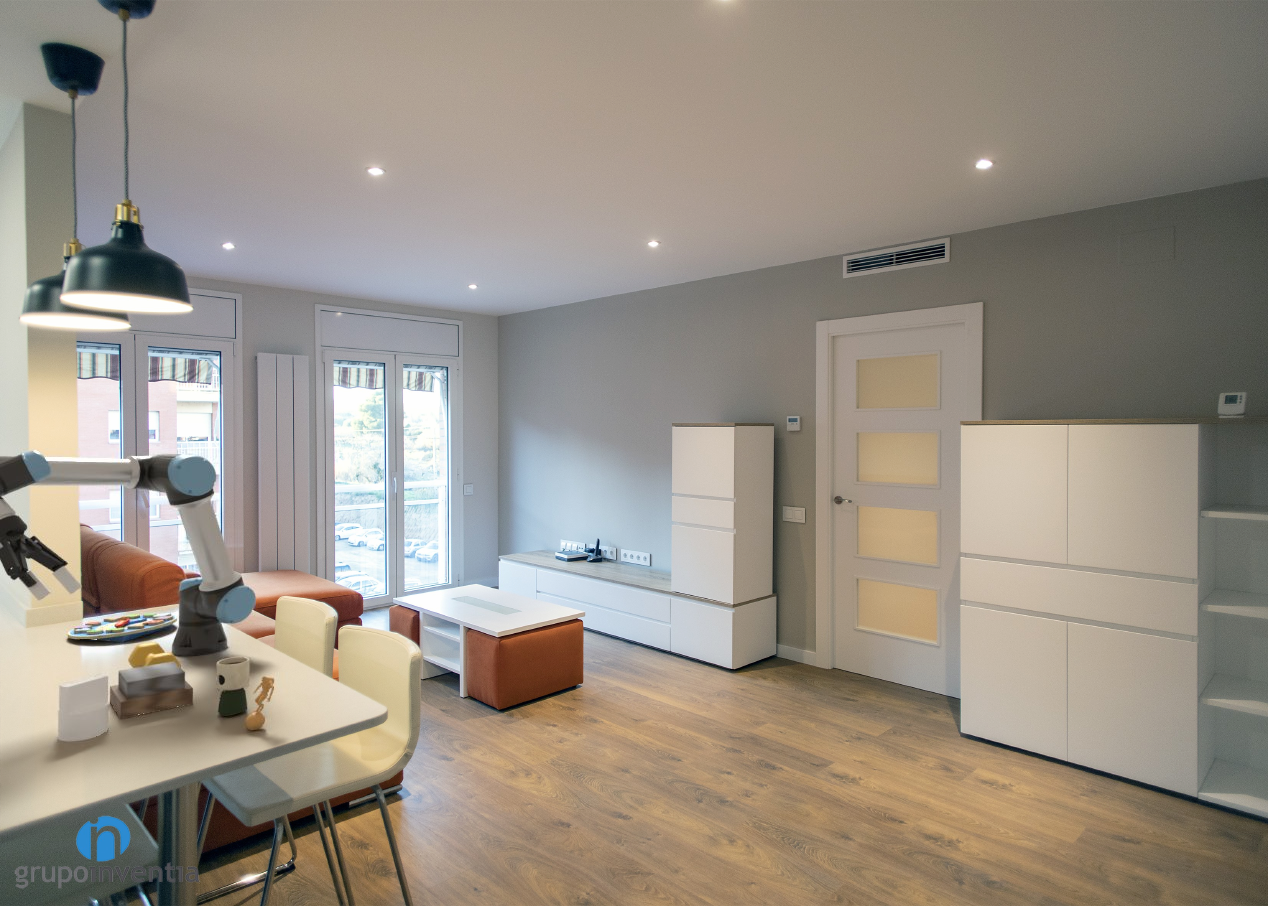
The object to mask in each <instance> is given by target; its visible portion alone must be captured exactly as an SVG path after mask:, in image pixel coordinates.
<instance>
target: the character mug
mask: <svg viewBox="0 0 1268 906" xmlns="http://www.w3.org/2000/svg"><path fill="white" fill-rule="evenodd" d="M250 659H251V658H250V657H247V656H233V657H232V656H231V657H227V658H223V659H220V660H218V661H217V662H216V675H215V676H216V677H215V678H216V680H215V682H216V684H215V685H216V689H217V690H220V691H221V693H220V696H219V702H218V708H217V713H218V716H221V717H229V716H233V715H234V716H236V714H240V713H243V712H246V711H247V710H248V702H247V701H248V700H247V694H246V693H247V692H246V690H245V688H246V687H248V686H249V685H250V663H251V662H250Z"/></svg>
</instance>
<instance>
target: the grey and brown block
mask: <svg viewBox="0 0 1268 906" xmlns="http://www.w3.org/2000/svg"><path fill="white" fill-rule="evenodd" d="M117 679H118V684H116V685H110V686H109V687H110V688H109V703H110V702H111V703H110V705H111V704H112V705H113V706H112V705H111V706H112V708H113V707H114V708H113V709H114V711H115V710H116V711H115V712H117V713H116V714H117V716H118V718H119V719H121V720H122V718H123V719H126V717H128V718H131V717H130V716H132V717H135V716H134V715H137V716H139V715H138V714H142V715H144V714H143V713H147V714H150V713H149V712H152V713H154V712H153V711H157V712H160V711H159V710H161V711H164V710H163V709H166V710H169V709H168V708H171V709H174V708H173V707H176V708H178V707H177V706H181V707H184V706H183V705H186V706H189V705H188V704H190V705H193V704H194V688H193V686H192V685H190V683H189V682H188V681H186V671H185V670H183V669H182V667H181V668H180V667H179V666H178V665H177V664H176V663H175V662H174V661H173V662H167V663H162V664H156V665H150V666H144V667H138V668H133V667H131V668H126V669H122V670H118V678H117Z"/></svg>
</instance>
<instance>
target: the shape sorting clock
mask: <svg viewBox="0 0 1268 906" xmlns="http://www.w3.org/2000/svg"><path fill="white" fill-rule="evenodd" d="M177 621H178V617H177V616H176V615H173V614H172V613H170V612H166V613H153V612H151V613H149V612H147V613H143V614H142V615H141V614H125V615H122V616H119V617H106V618H103V621H90V622H89V621H88V622H85V624H84V625H77V626H74V627H73V629H71V630H69V631H68V632H67V638H68V639H71V640H80V639H97V640H110V641H109V642H114V641H119V642H118V643H124V641H125V642H128V641H131V640H134V639H137V638H140V637H143V635H144V636H146V634H147V635H150V634H153V633H156V632H159V631H162V630H165V629H168V628H171V627H173V625H174V623H176V622H177ZM130 639H131V640H130ZM97 640H96V641H97ZM127 640H128V641H127Z"/></svg>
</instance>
